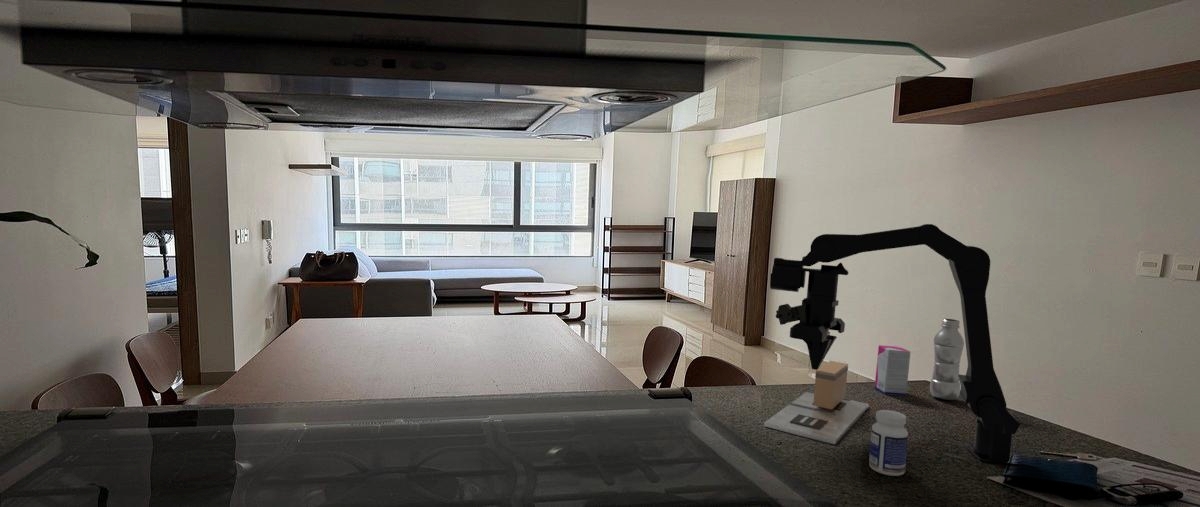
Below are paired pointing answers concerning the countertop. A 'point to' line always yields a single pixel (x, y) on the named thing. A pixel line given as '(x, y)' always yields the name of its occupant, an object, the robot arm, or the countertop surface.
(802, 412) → the label panel
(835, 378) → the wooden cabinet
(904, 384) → the supplement box
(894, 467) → the pill bottle
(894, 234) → the robot arm
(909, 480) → the countertop surface
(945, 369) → the plastic bottle
